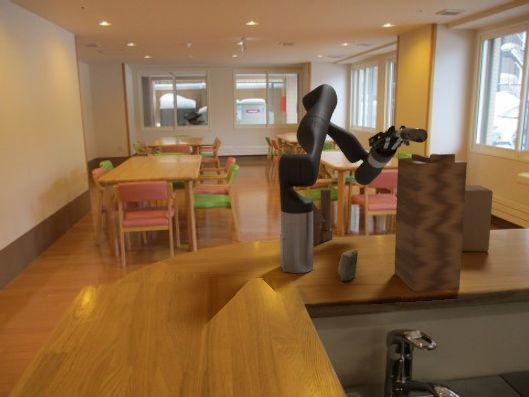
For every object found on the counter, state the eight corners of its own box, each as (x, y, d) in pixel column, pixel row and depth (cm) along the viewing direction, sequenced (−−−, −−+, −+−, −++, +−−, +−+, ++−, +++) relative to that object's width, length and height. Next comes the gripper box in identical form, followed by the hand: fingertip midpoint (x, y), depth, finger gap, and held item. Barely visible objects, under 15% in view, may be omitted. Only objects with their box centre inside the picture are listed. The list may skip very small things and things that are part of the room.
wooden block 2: (478, 243, 153) (482, 185, 149) (489, 252, 143) (494, 189, 139) (447, 243, 154) (450, 185, 150) (456, 252, 144) (460, 190, 140)
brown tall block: (413, 291, 114) (418, 155, 107) (394, 273, 126) (398, 150, 120) (459, 288, 114) (467, 153, 108) (436, 271, 127) (442, 149, 121)
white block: (358, 283, 119) (359, 254, 118) (338, 283, 120) (338, 254, 118) (356, 276, 125) (356, 248, 123) (337, 275, 125) (337, 248, 124)
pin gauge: (414, 143, 119) (414, 129, 118) (386, 138, 140) (387, 126, 139) (427, 142, 119) (427, 128, 119) (398, 138, 140) (398, 126, 139)
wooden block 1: (306, 243, 157) (305, 192, 154) (324, 237, 165) (324, 188, 161) (314, 245, 154) (314, 193, 151) (332, 239, 162) (333, 189, 159)
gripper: (359, 143, 151) (374, 117, 135) (400, 142, 152) (419, 116, 136) (362, 163, 149) (377, 139, 132) (403, 162, 150) (423, 138, 133)
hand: (398, 128), depth 134 cm, fingers closed on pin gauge, 2 cm apart
